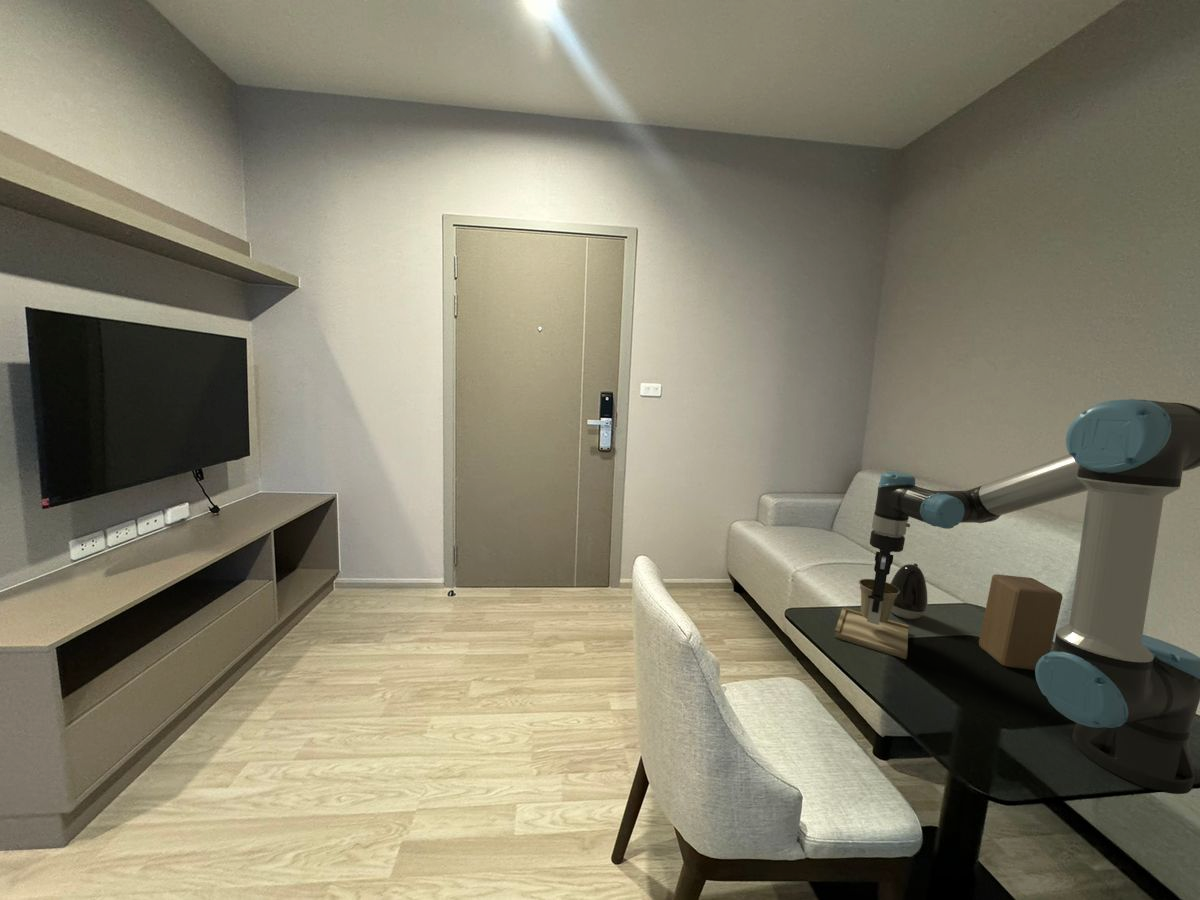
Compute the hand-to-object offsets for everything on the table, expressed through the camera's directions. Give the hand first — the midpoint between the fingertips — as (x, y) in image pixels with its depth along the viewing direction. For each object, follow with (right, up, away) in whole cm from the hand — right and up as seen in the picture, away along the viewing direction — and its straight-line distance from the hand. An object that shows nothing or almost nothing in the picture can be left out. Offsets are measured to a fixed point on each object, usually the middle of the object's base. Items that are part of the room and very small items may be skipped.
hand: (874, 616), depth 130 cm
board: (0, -5, +1) cm, 5 cm away
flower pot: (0, 0, 0) cm, 1 cm away
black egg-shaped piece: (+16, -4, +14) cm, 22 cm away
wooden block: (+30, -9, -6) cm, 32 cm away
